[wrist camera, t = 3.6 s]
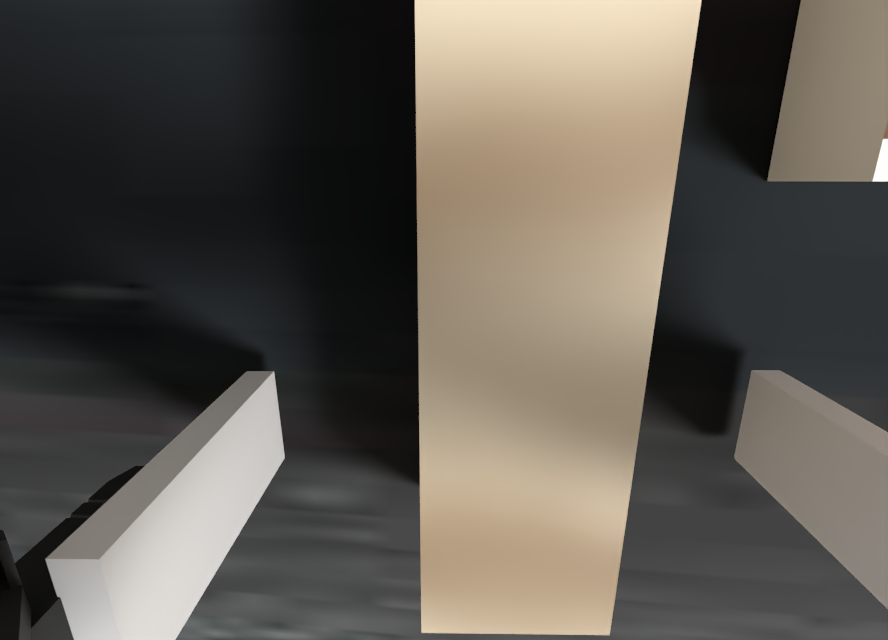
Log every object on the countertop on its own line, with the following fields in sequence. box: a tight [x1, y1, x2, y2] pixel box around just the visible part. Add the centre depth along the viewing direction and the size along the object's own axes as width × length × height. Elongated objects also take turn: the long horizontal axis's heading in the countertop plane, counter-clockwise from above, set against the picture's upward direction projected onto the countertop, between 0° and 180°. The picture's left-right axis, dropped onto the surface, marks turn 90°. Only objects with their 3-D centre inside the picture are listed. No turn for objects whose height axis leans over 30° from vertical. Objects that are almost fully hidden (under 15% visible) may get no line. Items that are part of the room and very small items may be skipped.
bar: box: [415, 0, 702, 635], centre depth 10 cm, size 18×4×5 cm, turn 0°
